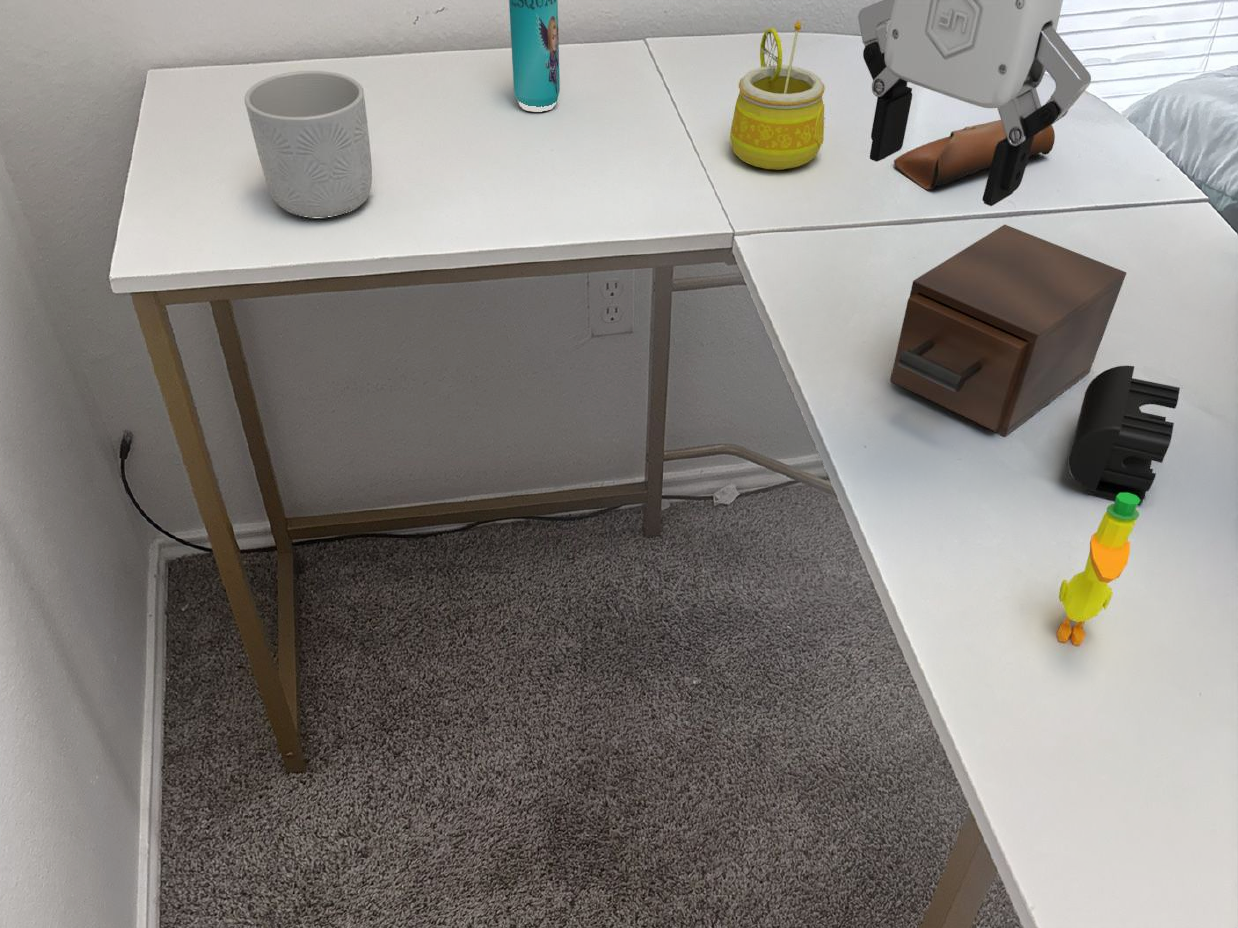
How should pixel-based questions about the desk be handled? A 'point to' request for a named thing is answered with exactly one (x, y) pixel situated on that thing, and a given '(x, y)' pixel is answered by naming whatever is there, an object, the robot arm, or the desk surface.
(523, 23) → the beverage can
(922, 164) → the sunglasses case
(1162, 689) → the desk surface
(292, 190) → the planter
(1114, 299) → the cabinet
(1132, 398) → the end cap
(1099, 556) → the toy figure
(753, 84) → the yellow patterned pot
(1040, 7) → the robot arm
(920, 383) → the drawer
